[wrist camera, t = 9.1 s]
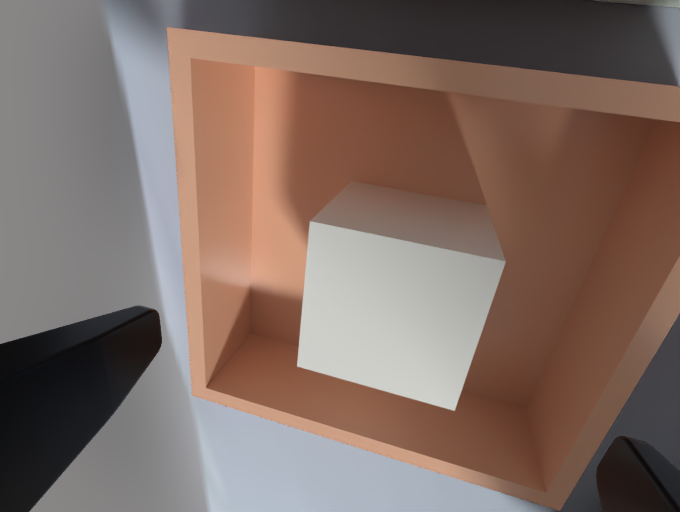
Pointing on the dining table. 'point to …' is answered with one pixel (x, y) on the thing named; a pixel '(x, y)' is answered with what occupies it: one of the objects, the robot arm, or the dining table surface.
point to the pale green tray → (648, 2)
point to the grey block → (398, 290)
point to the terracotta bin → (442, 181)
